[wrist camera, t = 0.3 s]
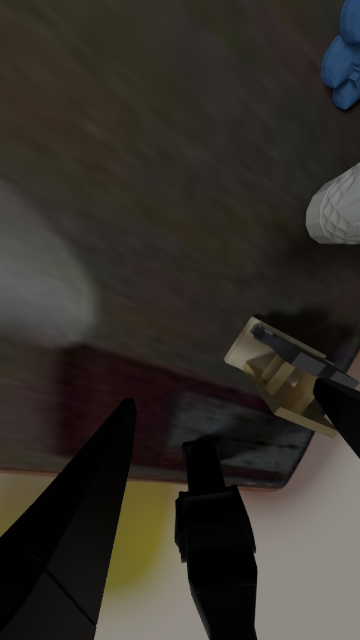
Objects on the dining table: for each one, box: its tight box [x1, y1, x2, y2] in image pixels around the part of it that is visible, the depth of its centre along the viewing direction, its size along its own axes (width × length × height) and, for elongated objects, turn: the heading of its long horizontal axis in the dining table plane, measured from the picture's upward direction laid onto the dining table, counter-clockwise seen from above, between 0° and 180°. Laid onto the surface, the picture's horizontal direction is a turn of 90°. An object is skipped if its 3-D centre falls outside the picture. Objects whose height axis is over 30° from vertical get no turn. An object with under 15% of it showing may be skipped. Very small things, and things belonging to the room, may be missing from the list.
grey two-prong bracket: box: [250, 324, 359, 389], centre depth 21 cm, size 2×12×6 cm, turn 63°
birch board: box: [224, 317, 326, 386], centre depth 25 cm, size 7×13×1 cm, turn 63°
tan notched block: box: [242, 355, 339, 438], centre depth 21 cm, size 4×8×8 cm, turn 63°
